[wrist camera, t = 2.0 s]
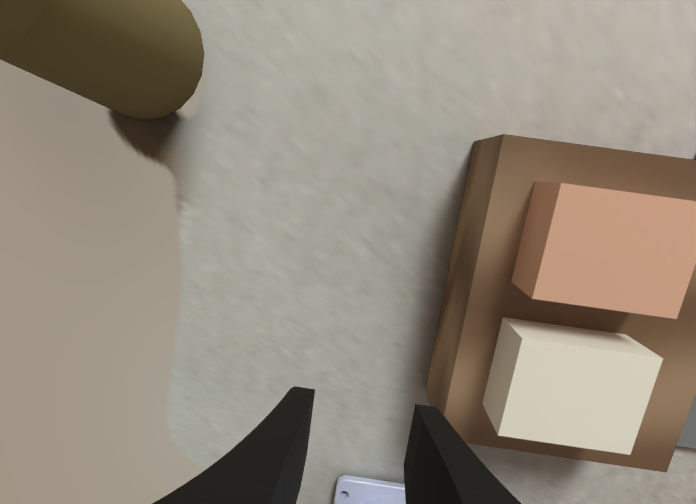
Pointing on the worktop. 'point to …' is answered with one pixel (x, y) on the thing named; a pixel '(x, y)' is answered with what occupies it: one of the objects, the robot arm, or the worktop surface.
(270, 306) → the worktop surface
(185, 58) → the olive tall rounded piece
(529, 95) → the worktop surface
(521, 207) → the walnut board
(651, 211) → the terracotta tile
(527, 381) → the cream tile
